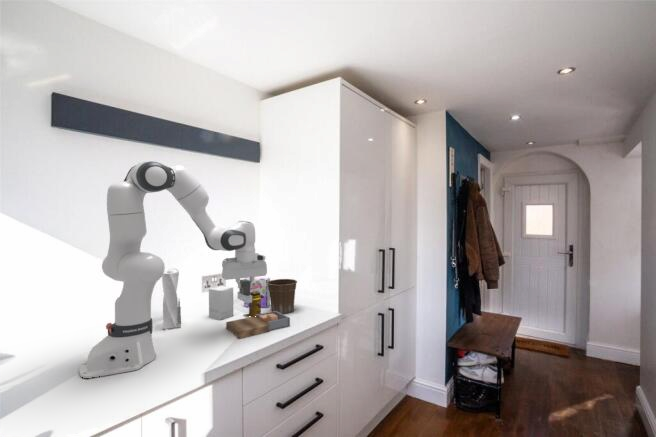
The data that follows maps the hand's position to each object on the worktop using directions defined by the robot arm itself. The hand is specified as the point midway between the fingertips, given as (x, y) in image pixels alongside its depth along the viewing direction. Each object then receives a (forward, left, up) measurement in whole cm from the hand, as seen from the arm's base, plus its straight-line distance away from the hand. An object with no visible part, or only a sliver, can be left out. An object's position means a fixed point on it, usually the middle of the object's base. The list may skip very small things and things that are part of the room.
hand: (244, 287), depth 145 cm
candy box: (+21, +34, -20) cm, 45 cm away
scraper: (0, 0, -6) cm, 6 cm away
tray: (+14, 0, -20) cm, 24 cm away
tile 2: (+11, -3, -16) cm, 20 cm away
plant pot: (+28, +17, -20) cm, 38 cm away
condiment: (+12, +19, -20) cm, 30 cm away
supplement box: (-2, +27, -20) cm, 34 cm away
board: (+1, 0, -20) cm, 20 cm away
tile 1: (+12, +3, -19) cm, 23 cm away
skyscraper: (-26, +25, -20) cm, 41 cm away
